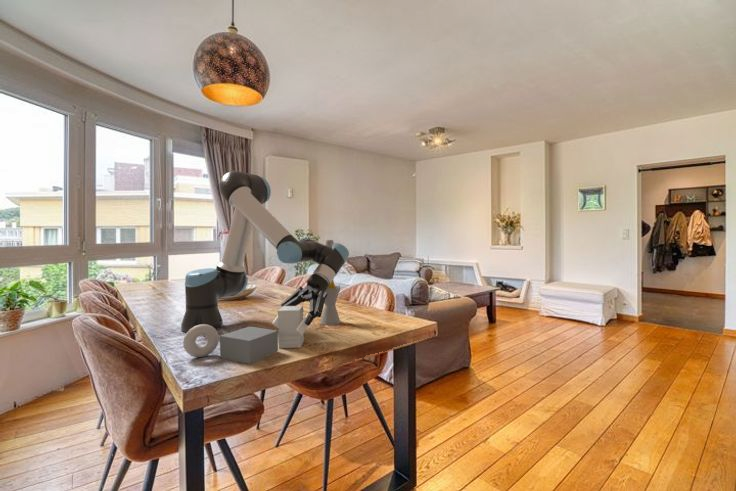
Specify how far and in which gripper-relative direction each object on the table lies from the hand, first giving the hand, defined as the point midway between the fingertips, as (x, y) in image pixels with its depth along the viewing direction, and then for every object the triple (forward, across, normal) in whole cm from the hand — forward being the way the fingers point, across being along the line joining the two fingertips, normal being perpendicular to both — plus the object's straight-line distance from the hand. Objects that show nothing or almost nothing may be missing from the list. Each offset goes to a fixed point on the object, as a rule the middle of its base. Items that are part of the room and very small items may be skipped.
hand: (286, 328), depth 118 cm
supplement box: (+3, 0, -6) cm, 6 cm away
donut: (+21, +11, +12) cm, 26 cm away
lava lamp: (-18, +13, -26) cm, 34 cm away
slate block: (+13, +2, +4) cm, 14 cm away
